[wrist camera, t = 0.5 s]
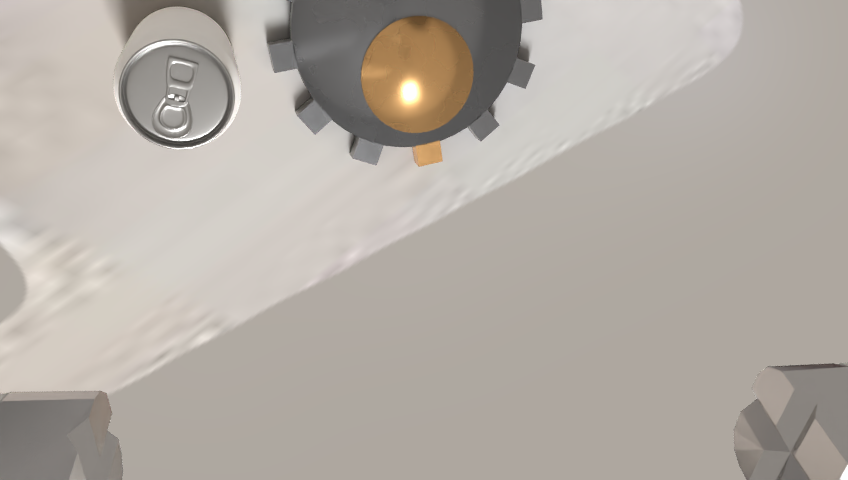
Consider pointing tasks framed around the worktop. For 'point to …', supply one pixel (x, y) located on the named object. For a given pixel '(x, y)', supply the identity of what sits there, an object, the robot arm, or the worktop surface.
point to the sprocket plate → (404, 68)
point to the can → (178, 79)
